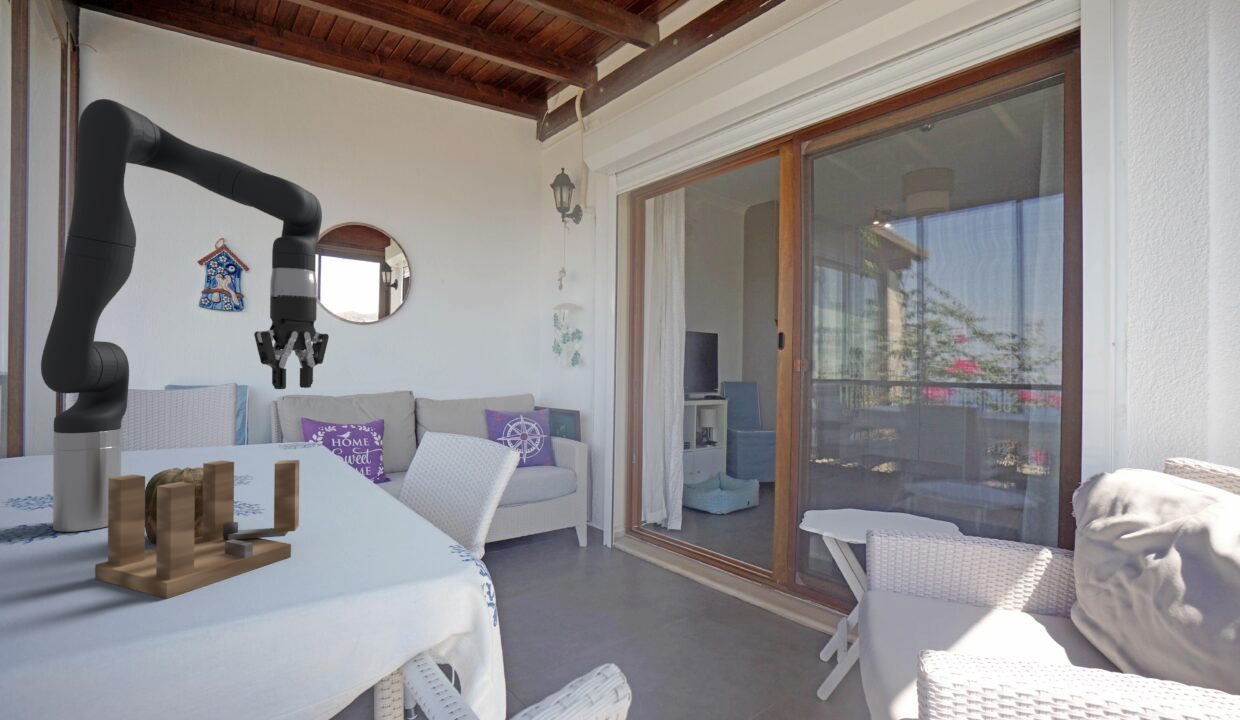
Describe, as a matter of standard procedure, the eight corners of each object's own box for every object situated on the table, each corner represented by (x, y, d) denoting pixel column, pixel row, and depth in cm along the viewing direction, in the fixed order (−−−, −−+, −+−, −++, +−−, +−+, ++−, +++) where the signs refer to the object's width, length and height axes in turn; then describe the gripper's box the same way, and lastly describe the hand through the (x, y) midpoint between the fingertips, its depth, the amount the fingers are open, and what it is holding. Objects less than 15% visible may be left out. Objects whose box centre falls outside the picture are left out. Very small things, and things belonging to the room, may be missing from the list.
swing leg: (220, 540, 96) (220, 465, 95) (226, 535, 98) (227, 462, 98) (294, 536, 99) (295, 463, 98) (298, 530, 101) (299, 459, 101)
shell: (180, 549, 98) (181, 475, 98) (124, 544, 100) (125, 471, 100) (235, 530, 109) (236, 463, 109) (184, 526, 111) (184, 460, 111)
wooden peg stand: (95, 578, 85) (95, 478, 85) (223, 542, 102) (223, 458, 102) (166, 598, 79) (167, 490, 79) (290, 556, 95) (291, 467, 95)
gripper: (312, 299, 120) (311, 386, 120) (242, 291, 107) (241, 389, 107) (340, 298, 117) (339, 387, 117) (272, 290, 104) (271, 391, 104)
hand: (292, 387), depth 112 cm, fingers open, 4 cm apart
